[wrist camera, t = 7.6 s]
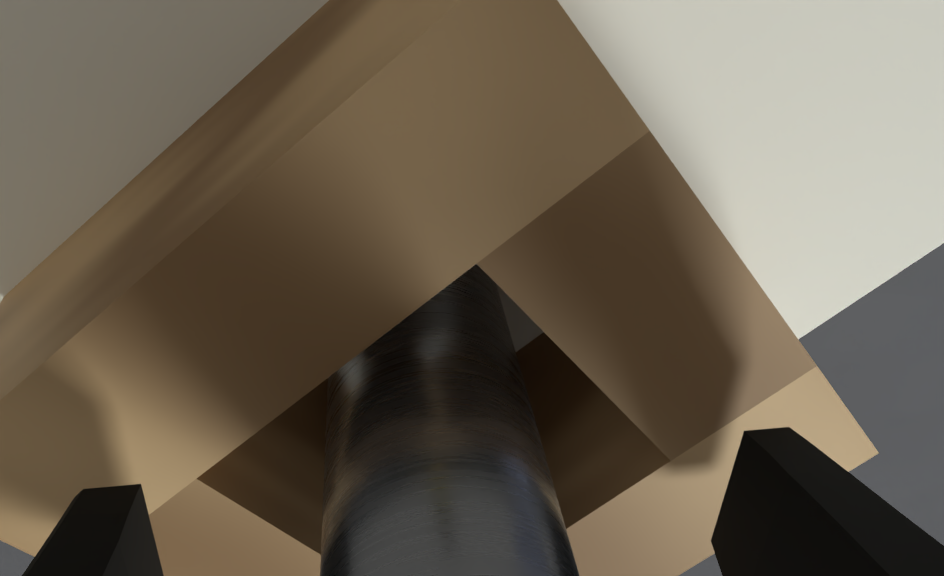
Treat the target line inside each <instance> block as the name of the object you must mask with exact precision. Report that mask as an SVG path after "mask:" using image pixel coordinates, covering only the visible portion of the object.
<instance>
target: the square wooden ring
mask: <svg viewBox="0 0 944 576" xmlns="http://www.w3.org/2000/svg"><path fill="white" fill-rule="evenodd" d="M475 264H477V265H478V266H479V267H480V268H481V269H482V270H483V271H484V272H485V273H486V274H487V275H488V276H489V277H490V278H491V279H492V280H493V281H494V282H495V283H496V284H497V285H498V286H499V287H500V288H501V289H502V290H503V291H504V292H505V293H506V294H507V295H508V296H509V297H510V298H511V299H512V300H513V301H514V302H515V303H516V304H517V305H518V306H519V307H520V308H521V309H522V310H523V311H524V312H525V313H526V314H527V315H528V316H529V317H530V318H531V319H532V320H533V321H534V322H535V323H536V324H537V325H538V326H539V327H540V328H541V330H542V331H543V333H542V334H540V335H539V336H538V337H536V338H535V339H533V340H532V341H531V342H529V343H528V344H527V345H525V346H524V347H522V348H521V349H520V350H518V351H517V352H516V355H517V359H518V362H519V366H520V369H521V373H522V376H523V380H524V383H525V387H526V390H527V394H528V397H529V401H530V404H531V408H532V411H533V415H534V418H535V422H536V425H537V429H538V432H539V436H540V439H541V443H542V446H543V450H544V453H545V457H546V460H547V464H548V467H549V471H550V474H551V478H552V481H553V485H554V488H555V492H556V495H557V499H558V502H559V506H560V509H561V513H562V516H563V520H564V523H565V527H566V530H567V534H568V537H569V541H570V544H571V548H572V551H573V555H574V558H575V562H576V565H577V569H578V572H579V576H678V575H680V574H681V573H683V572H685V571H686V570H688V569H690V568H691V567H693V566H695V565H696V564H698V563H700V562H701V561H703V560H704V559H706V558H708V557H709V556H711V555H713V554H714V553H715V552H714V549H713V546H712V543H711V538H712V535H713V532H714V528H715V525H716V522H717V519H718V515H719V512H720V509H721V505H722V502H723V499H724V495H725V492H726V489H727V485H728V482H729V479H730V476H731V472H732V469H733V466H734V462H735V459H736V456H737V452H738V449H739V446H740V443H741V439H742V436H743V433H744V431H748V430H759V429H771V428H782V427H790V428H791V429H793V430H794V431H795V432H797V433H798V434H799V435H801V436H802V437H803V438H805V439H806V440H808V441H809V442H810V443H811V444H813V445H814V446H815V447H817V448H818V449H819V450H821V451H822V452H823V453H825V454H826V455H827V456H828V457H830V458H831V459H832V460H834V461H835V462H836V463H837V464H839V465H840V466H841V467H842V468H844V469H845V470H846V471H848V472H849V471H850V470H852V469H854V468H855V467H857V466H859V465H860V464H862V463H864V462H865V461H867V460H868V459H870V458H872V457H873V456H875V455H877V454H878V451H877V450H876V448H875V447H874V446H873V444H872V443H871V441H870V440H869V438H868V437H867V436H866V434H865V433H864V431H863V430H862V429H861V427H860V426H859V424H858V423H857V422H856V420H855V419H854V417H853V416H852V415H851V413H850V412H849V410H848V409H847V408H846V406H845V405H844V403H843V402H842V400H841V399H840V398H839V396H838V395H837V393H836V392H835V391H834V389H833V388H832V386H831V385H830V384H829V382H828V381H827V379H826V378H825V377H824V375H823V374H822V372H821V371H820V369H819V368H818V367H817V365H816V364H815V362H814V361H813V360H812V358H811V357H810V355H809V354H808V353H807V351H806V350H805V348H804V347H803V346H802V344H801V343H800V341H799V340H798V339H797V337H796V336H795V334H794V333H793V331H792V330H791V329H790V327H789V326H788V324H787V323H786V322H785V320H784V319H783V317H782V316H781V315H780V313H779V312H778V310H777V309H776V308H775V306H774V305H773V303H772V302H771V301H770V299H769V298H768V296H767V295H766V293H765V292H764V291H763V289H762V288H761V286H760V285H759V284H758V282H757V281H756V279H755V278H754V277H753V275H752V274H751V272H750V271H749V270H748V268H747V267H746V265H745V264H744V262H743V261H742V260H741V258H740V257H739V255H738V254H737V253H736V251H735V250H734V248H733V247H732V246H731V244H730V243H729V241H728V240H727V239H726V237H725V236H724V234H723V233H722V232H721V230H720V229H719V227H718V226H717V224H716V223H715V222H714V220H713V219H712V217H711V216H710V215H709V213H708V212H707V210H706V209H705V208H704V206H703V205H702V203H701V202H700V201H699V199H698V198H697V196H696V195H695V193H694V192H693V191H692V189H691V188H690V186H689V185H688V184H687V182H686V181H685V179H684V178H683V177H682V175H681V174H680V172H679V171H678V170H677V168H676V167H675V165H674V164H673V163H672V161H671V160H670V158H669V157H668V155H667V154H666V153H665V151H664V150H663V148H662V147H661V146H660V144H659V143H658V141H657V140H656V139H655V137H654V136H653V134H652V133H651V132H650V130H649V129H648V127H647V126H646V124H645V123H644V122H643V120H642V119H641V117H640V116H639V115H638V113H637V112H636V110H635V109H634V108H633V106H632V105H631V103H630V102H629V101H628V99H627V98H626V96H625V95H624V94H623V92H622V91H621V89H620V88H619V86H618V85H617V84H616V82H615V81H614V79H613V78H612V77H611V75H610V74H609V72H608V71H607V70H606V68H605V67H604V65H603V64H602V63H601V61H600V60H599V58H598V57H597V56H596V54H595V53H594V51H593V50H592V48H591V47H590V46H589V44H588V43H587V41H586V40H585V39H584V37H583V36H582V34H581V33H580V32H579V30H578V29H577V27H576V26H575V25H574V23H573V22H572V20H571V19H570V17H569V16H568V15H567V13H566V12H565V10H564V9H563V8H562V6H561V5H560V3H559V2H558V1H557V0H329V1H328V2H327V3H325V4H324V5H323V6H322V7H321V8H320V9H319V10H318V11H317V12H316V13H315V14H313V15H312V16H311V17H310V18H309V19H308V20H307V21H306V22H305V23H304V24H302V25H301V26H300V27H299V28H298V29H297V30H296V31H295V32H294V33H293V34H291V35H290V36H289V37H288V38H287V39H286V40H285V41H284V42H283V43H282V44H281V45H279V46H278V47H277V48H276V49H275V50H274V51H273V52H272V53H271V54H270V55H268V56H267V57H266V58H265V59H264V60H263V61H262V62H261V63H260V64H259V65H257V66H256V67H255V68H254V69H253V70H252V71H251V72H250V73H249V74H248V75H246V76H245V77H244V78H243V79H242V80H241V81H240V82H239V83H238V84H237V85H236V86H234V87H233V88H232V89H231V90H230V91H229V92H228V93H227V94H226V95H225V96H223V97H222V98H221V99H220V100H219V101H218V102H217V103H216V104H215V105H214V106H212V107H211V108H210V109H209V110H208V111H207V112H206V113H205V114H204V115H203V116H201V117H200V118H199V119H198V120H197V121H196V122H195V123H194V124H193V125H192V126H191V127H189V128H188V129H187V130H186V131H185V132H184V133H183V134H182V135H181V136H180V137H178V138H177V139H176V140H175V141H174V142H173V143H172V144H171V145H170V146H169V147H167V148H166V149H165V150H164V151H163V152H162V153H161V154H160V155H159V156H158V157H157V158H155V159H154V160H153V161H152V162H151V163H150V164H149V165H148V166H147V167H146V168H144V169H143V170H142V171H141V172H140V173H139V174H138V175H137V176H136V177H135V178H133V179H132V180H131V181H130V182H129V183H128V184H127V185H126V186H125V187H124V188H122V189H121V190H120V191H119V192H118V193H117V194H116V195H115V196H114V197H113V198H112V199H110V200H109V201H108V202H107V203H106V204H105V205H104V206H103V207H102V208H101V209H99V210H98V211H97V212H96V213H95V214H94V215H93V216H92V217H91V218H90V219H88V220H87V221H86V222H85V223H84V224H83V225H82V226H81V227H80V228H79V229H77V230H76V231H75V232H74V233H73V234H72V235H71V236H70V237H69V238H68V239H67V240H65V241H64V242H63V243H62V244H61V245H60V246H59V247H58V248H57V249H56V250H54V251H53V252H52V253H51V254H50V255H49V256H48V257H47V258H46V259H45V260H43V261H42V262H41V263H40V264H39V265H38V266H37V267H36V268H35V269H34V270H33V271H31V272H30V273H29V274H28V275H27V276H26V277H25V278H24V279H23V280H22V281H20V282H19V283H18V284H17V285H16V286H15V287H14V288H13V289H12V290H11V291H9V292H8V293H7V294H6V295H5V296H4V297H3V299H2V301H1V303H0V540H1V541H3V542H5V543H7V544H9V545H11V546H13V547H15V548H18V549H20V550H22V551H24V552H26V553H28V554H30V555H32V556H34V557H35V556H36V555H37V553H38V552H39V550H40V549H41V547H42V546H43V544H44V543H45V541H46V540H47V538H48V537H49V535H50V534H51V532H52V531H53V529H54V528H55V526H56V525H57V523H58V522H59V520H60V519H61V517H62V515H63V514H64V512H65V511H66V509H67V508H68V506H69V505H70V503H71V502H72V500H73V499H74V497H75V496H76V495H77V494H78V493H79V492H80V491H82V490H83V489H88V488H100V487H111V486H122V485H134V484H141V486H142V490H143V494H144V498H145V502H146V506H147V510H148V514H149V518H150V522H151V526H152V530H153V534H154V538H155V542H156V547H157V551H158V555H159V559H160V563H161V567H162V571H163V575H164V576H320V563H321V538H322V514H323V489H324V465H325V440H326V416H327V391H328V377H329V376H331V375H332V374H333V373H335V372H336V371H337V370H339V369H340V368H341V367H343V366H344V365H345V364H346V363H348V362H349V361H350V360H352V359H353V358H354V357H356V356H357V355H358V354H359V353H361V352H362V351H363V350H365V349H366V348H367V347H369V346H370V345H371V344H373V343H374V342H375V341H376V340H378V339H379V338H380V337H382V336H383V335H384V334H386V333H387V332H388V331H389V330H391V329H392V328H393V327H395V326H396V325H397V324H399V323H400V322H401V321H402V320H404V319H405V318H406V317H408V316H409V315H410V314H412V313H413V312H414V311H416V310H417V309H418V308H419V307H421V306H422V305H423V304H425V303H426V302H427V301H429V300H430V299H431V298H432V297H434V296H435V295H436V294H438V293H439V292H440V291H442V290H443V289H444V288H446V287H447V286H448V285H449V284H451V283H452V282H453V281H455V280H456V279H457V278H459V277H460V276H461V275H462V274H464V273H465V272H466V271H468V270H469V269H470V268H472V267H473V266H474V265H475Z"/></svg>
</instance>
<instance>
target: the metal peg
mask: <svg viewBox="0 0 944 576" xmlns="http://www.w3.org/2000/svg"><path fill="white" fill-rule="evenodd" d="M320 576H579V572H578V569H577V565H576V562H575V558H574V555H573V551H572V548H571V544H570V541H569V537H568V534H567V530H566V527H565V523H564V520H563V516H562V513H561V509H560V506H559V502H558V499H557V495H556V492H555V488H554V485H553V481H552V478H551V474H550V471H549V467H548V464H547V460H546V457H545V453H544V450H543V446H542V443H541V439H540V436H539V432H538V429H537V425H536V422H535V418H534V415H533V411H532V408H531V404H530V401H529V397H528V394H527V390H526V387H525V383H524V380H523V376H522V373H521V369H520V366H519V362H518V359H517V355H516V352H515V348H514V345H513V341H512V338H511V334H510V331H509V327H508V324H507V320H506V317H505V313H504V310H503V306H502V303H501V299H500V296H499V292H498V289H497V285H496V283H495V282H494V281H493V280H492V279H491V278H490V277H489V276H488V275H487V274H486V273H485V272H484V271H483V270H482V269H481V268H480V267H479V266H478V265H477V264H475V265H474V266H473V267H472V268H470V269H469V270H468V271H466V272H465V273H464V274H462V275H461V276H460V277H459V278H457V279H456V280H455V281H453V282H452V283H451V284H449V285H448V286H447V287H446V288H444V289H443V290H442V291H440V292H439V293H438V294H436V295H435V296H434V297H432V298H431V299H430V300H429V301H427V302H426V303H425V304H423V305H422V306H421V307H419V308H418V309H417V310H416V311H414V312H413V313H412V314H410V315H409V316H408V317H406V318H405V319H404V320H402V321H401V322H400V323H399V324H397V325H396V326H395V327H393V328H392V329H391V330H389V331H388V332H387V333H386V334H384V335H383V336H382V337H380V338H379V339H378V340H376V341H375V342H374V343H373V344H371V345H370V346H369V347H367V348H366V349H365V350H363V351H362V352H361V353H359V354H358V355H357V356H356V357H354V358H353V359H352V360H350V361H349V362H348V363H346V364H345V365H344V366H343V367H341V368H340V369H339V370H337V371H336V372H335V373H333V374H332V375H331V376H329V377H328V391H327V416H326V440H325V465H324V489H323V514H322V538H321V563H320Z"/></svg>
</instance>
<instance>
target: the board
mask: <svg viewBox="0 0 944 576" xmlns="http://www.w3.org/2000/svg"><path fill="white" fill-rule="evenodd" d="M328 1H329V0H0V303H1V301H2V299H3V297H4V296H5V295H6V294H7V293H8V292H9V291H11V290H12V289H13V288H14V287H15V286H16V285H17V284H18V283H19V282H20V281H22V280H23V279H24V278H25V277H26V276H27V275H28V274H29V273H30V272H31V271H33V270H34V269H35V268H36V267H37V266H38V265H39V264H40V263H41V262H42V261H43V260H45V259H46V258H47V257H48V256H49V255H50V254H51V253H52V252H53V251H54V250H56V249H57V248H58V247H59V246H60V245H61V244H62V243H63V242H64V241H65V240H67V239H68V238H69V237H70V236H71V235H72V234H73V233H74V232H75V231H76V230H77V229H79V228H80V227H81V226H82V225H83V224H84V223H85V222H86V221H87V220H88V219H90V218H91V217H92V216H93V215H94V214H95V213H96V212H97V211H98V210H99V209H101V208H102V207H103V206H104V205H105V204H106V203H107V202H108V201H109V200H110V199H112V198H113V197H114V196H115V195H116V194H117V193H118V192H119V191H120V190H121V189H122V188H124V187H125V186H126V185H127V184H128V183H129V182H130V181H131V180H132V179H133V178H135V177H136V176H137V175H138V174H139V173H140V172H141V171H142V170H143V169H144V168H146V167H147V166H148V165H149V164H150V163H151V162H152V161H153V160H154V159H155V158H157V157H158V156H159V155H160V154H161V153H162V152H163V151H164V150H165V149H166V148H167V147H169V146H170V145H171V144H172V143H173V142H174V141H175V140H176V139H177V138H178V137H180V136H181V135H182V134H183V133H184V132H185V131H186V130H187V129H188V128H189V127H191V126H192V125H193V124H194V123H195V122H196V121H197V120H198V119H199V118H200V117H201V116H203V115H204V114H205V113H206V112H207V111H208V110H209V109H210V108H211V107H212V106H214V105H215V104H216V103H217V102H218V101H219V100H220V99H221V98H222V97H223V96H225V95H226V94H227V93H228V92H229V91H230V90H231V89H232V88H233V87H234V86H236V85H237V84H238V83H239V82H240V81H241V80H242V79H243V78H244V77H245V76H246V75H248V74H249V73H250V72H251V71H252V70H253V69H254V68H255V67H256V66H257V65H259V64H260V63H261V62H262V61H263V60H264V59H265V58H266V57H267V56H268V55H270V54H271V53H272V52H273V51H274V50H275V49H276V48H277V47H278V46H279V45H281V44H282V43H283V42H284V41H285V40H286V39H287V38H288V37H289V36H290V35H291V34H293V33H294V32H295V31H296V30H297V29H298V28H299V27H300V26H301V25H302V24H304V23H305V22H306V21H307V20H308V19H309V18H310V17H311V16H312V15H313V14H315V13H316V12H317V11H318V10H319V9H320V8H321V7H322V6H323V5H324V4H325V3H327V2H328ZM557 1H558V2H559V3H560V5H561V6H562V8H563V9H564V10H565V12H566V13H567V15H568V16H569V17H570V19H571V20H572V22H573V23H574V25H575V26H576V27H577V29H578V30H579V32H580V33H581V34H582V36H583V37H584V39H585V40H586V41H587V43H588V44H589V46H590V47H591V48H592V50H593V51H594V53H595V54H596V56H597V57H598V58H599V60H600V61H601V63H602V64H603V65H604V67H605V68H606V70H607V71H608V72H609V74H610V75H611V77H612V78H613V79H614V81H615V82H616V84H617V85H618V86H619V88H620V89H621V91H622V92H623V94H624V95H625V96H626V98H627V99H628V101H629V102H630V103H631V105H632V106H633V108H634V109H635V110H636V112H637V113H638V115H639V116H640V117H641V119H642V120H643V122H644V123H645V124H646V126H647V127H648V129H649V130H650V132H651V133H652V134H653V136H654V137H655V139H656V140H657V141H658V143H659V144H660V146H661V147H662V148H663V150H664V151H665V153H666V154H667V155H668V157H669V158H670V160H671V161H672V163H673V164H674V165H675V167H676V168H677V170H678V171H679V172H680V174H681V175H682V177H683V178H684V179H685V181H686V182H687V184H688V185H689V186H690V188H691V189H692V191H693V192H694V193H695V195H696V196H697V198H698V199H699V201H700V202H701V203H702V205H703V206H704V208H705V209H706V210H707V212H708V213H709V215H710V216H711V217H712V219H713V220H714V222H715V223H716V224H717V226H718V227H719V229H720V230H721V232H722V233H723V234H724V236H725V237H726V239H727V240H728V241H729V243H730V244H731V246H732V247H733V248H734V250H735V251H736V253H737V254H738V255H739V257H740V258H741V260H742V261H743V262H744V264H745V265H746V267H747V268H748V270H749V271H750V272H751V274H752V275H753V277H754V278H755V279H756V281H757V282H758V284H759V285H760V286H761V288H762V289H763V291H764V292H765V293H766V295H767V296H768V298H769V299H770V301H771V302H772V303H773V305H774V306H775V308H776V309H777V310H778V312H779V313H780V315H781V316H782V317H783V319H784V320H785V322H786V323H787V324H788V326H789V327H790V329H791V330H792V331H793V333H794V334H795V336H796V337H797V339H799V338H801V337H802V336H804V335H805V334H807V333H808V332H810V331H811V330H813V329H815V328H816V327H818V326H819V325H821V324H822V323H824V322H825V321H827V320H828V319H830V318H831V317H833V316H834V315H836V314H837V313H839V312H840V311H842V310H843V309H845V308H846V307H848V306H849V305H851V304H852V303H854V302H855V301H857V300H858V299H860V298H861V297H863V296H864V295H866V294H867V293H869V292H870V291H872V290H873V289H875V288H876V287H878V286H879V285H881V284H882V283H884V282H885V281H887V280H888V279H890V278H891V277H893V276H894V275H896V274H898V273H899V272H901V271H902V270H904V269H905V268H907V267H908V266H910V265H911V264H913V263H914V262H916V261H917V260H919V259H920V258H922V257H923V256H925V255H926V254H928V253H929V252H931V251H932V250H934V249H935V248H937V247H938V246H940V245H941V244H943V243H944V0H557ZM496 285H497V284H496ZM497 289H498V292H499V296H500V299H501V303H502V306H503V310H504V313H505V317H506V320H507V324H508V327H509V331H510V334H511V338H512V341H513V345H514V348H515V352H517V351H518V350H520V349H521V348H522V347H524V346H525V345H527V344H528V343H529V342H531V341H532V340H533V339H535V338H536V337H538V336H539V335H540V334H542V333H543V331H542V330H541V328H540V327H539V326H538V325H537V324H536V323H535V322H534V321H533V320H532V319H531V318H530V317H529V316H528V315H527V314H526V313H525V312H524V311H523V310H522V309H521V308H520V307H519V306H518V305H517V304H516V303H515V302H514V301H513V300H512V299H511V298H510V297H509V296H508V295H507V294H506V293H505V292H504V291H503V290H502V289H501V288H500V287H499V286H498V285H497Z"/></svg>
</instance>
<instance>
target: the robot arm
mask: <svg viewBox="0 0 944 576" xmlns="http://www.w3.org/2000/svg"><path fill="white" fill-rule="evenodd" d="M711 543H712V546H713V549H714V552H715V555H716V558H717V560H718V563H719V566H720V569H721V572H722V575H723V576H944V546H943V545H942V544H940V543H939V542H938V541H936V540H935V539H934V538H933V537H931V536H930V535H929V534H927V533H926V532H925V531H923V530H922V529H921V528H919V527H918V526H917V525H915V524H914V523H913V522H912V521H910V520H909V519H908V518H906V517H905V516H904V515H903V514H901V513H900V512H899V511H897V510H896V509H895V508H894V507H892V506H891V505H890V504H888V503H887V502H886V501H885V500H883V499H882V498H881V497H879V496H878V495H877V494H876V493H874V492H873V491H872V490H871V489H869V488H868V487H867V486H865V485H864V484H863V483H862V482H860V481H859V480H858V479H857V478H855V477H854V476H853V475H851V474H850V473H849V472H848V471H846V470H845V469H844V468H842V467H841V466H840V465H839V464H837V463H836V462H835V461H834V460H832V459H831V458H830V457H828V456H827V455H826V454H825V453H823V452H822V451H821V450H819V449H818V448H817V447H815V446H814V445H813V444H811V443H810V442H809V441H808V440H806V439H805V438H803V437H802V436H801V435H799V434H798V433H797V432H795V431H794V430H793V429H791V428H790V427H782V428H771V429H759V430H748V431H744V433H743V436H742V439H741V443H740V446H739V449H738V452H737V456H736V459H735V462H734V466H733V469H732V472H731V476H730V479H729V482H728V485H727V489H726V492H725V495H724V499H723V502H722V505H721V509H720V512H719V515H718V519H717V522H716V525H715V528H714V532H713V535H712V538H711ZM22 576H164V575H163V571H162V567H161V563H160V559H159V555H158V551H157V547H156V542H155V538H154V534H153V530H152V526H151V522H150V518H149V514H148V510H147V506H146V502H145V498H144V494H143V490H142V486H141V484H134V485H122V486H111V487H100V488H88V489H83V490H82V491H80V492H79V493H78V494H77V495H76V496H75V497H74V499H73V500H72V502H71V503H70V505H69V506H68V508H67V509H66V511H65V512H64V514H63V515H62V517H61V519H60V520H59V522H58V523H57V525H56V526H55V528H54V529H53V531H52V532H51V534H50V535H49V537H48V538H47V540H46V541H45V543H44V544H43V546H42V547H41V549H40V550H39V552H38V553H37V555H36V556H35V557H34V559H33V560H32V562H31V563H30V565H29V566H28V568H27V569H26V571H25V572H24V574H23V575H22Z"/></svg>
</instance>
